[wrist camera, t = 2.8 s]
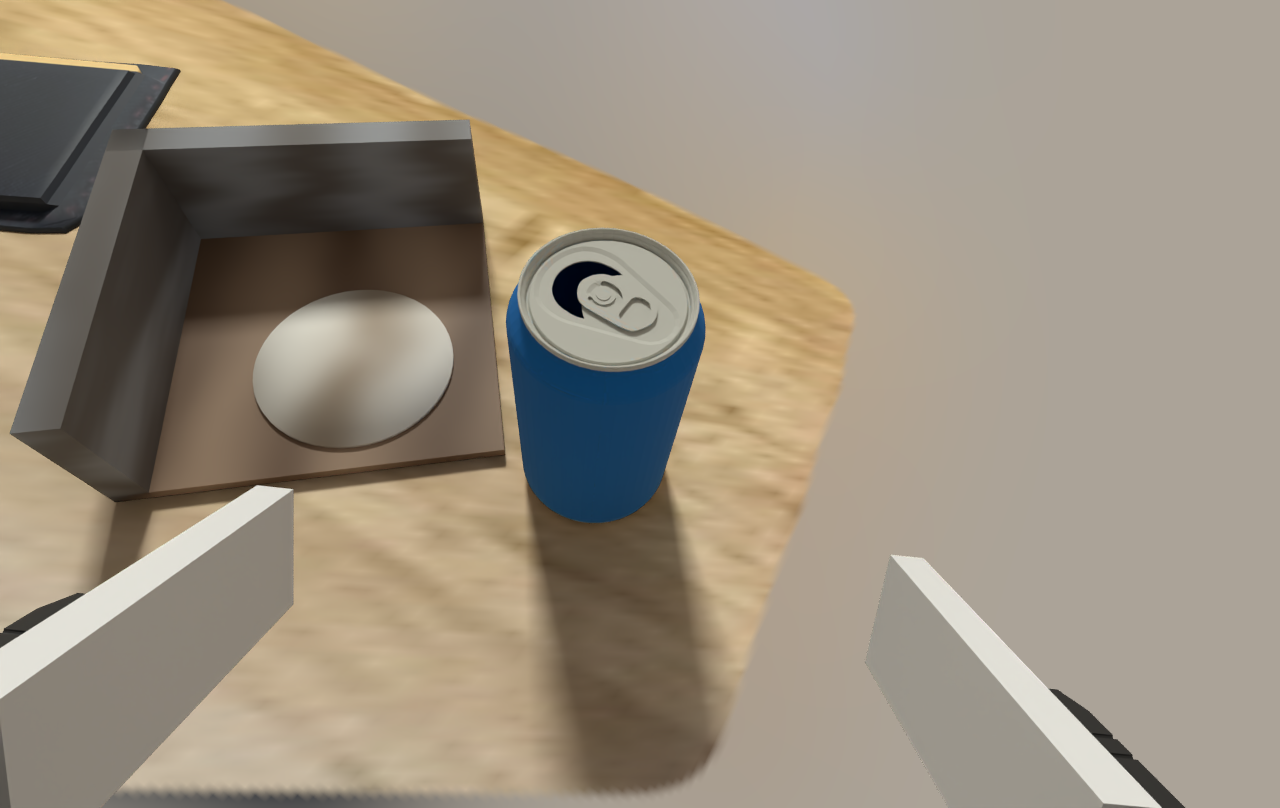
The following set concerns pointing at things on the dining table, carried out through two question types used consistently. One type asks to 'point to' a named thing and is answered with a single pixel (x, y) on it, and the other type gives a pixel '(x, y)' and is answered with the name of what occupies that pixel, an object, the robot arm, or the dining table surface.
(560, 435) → the beverage can
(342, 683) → the dining table surface
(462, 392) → the corner tray
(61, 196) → the dark grey flat rectangle
